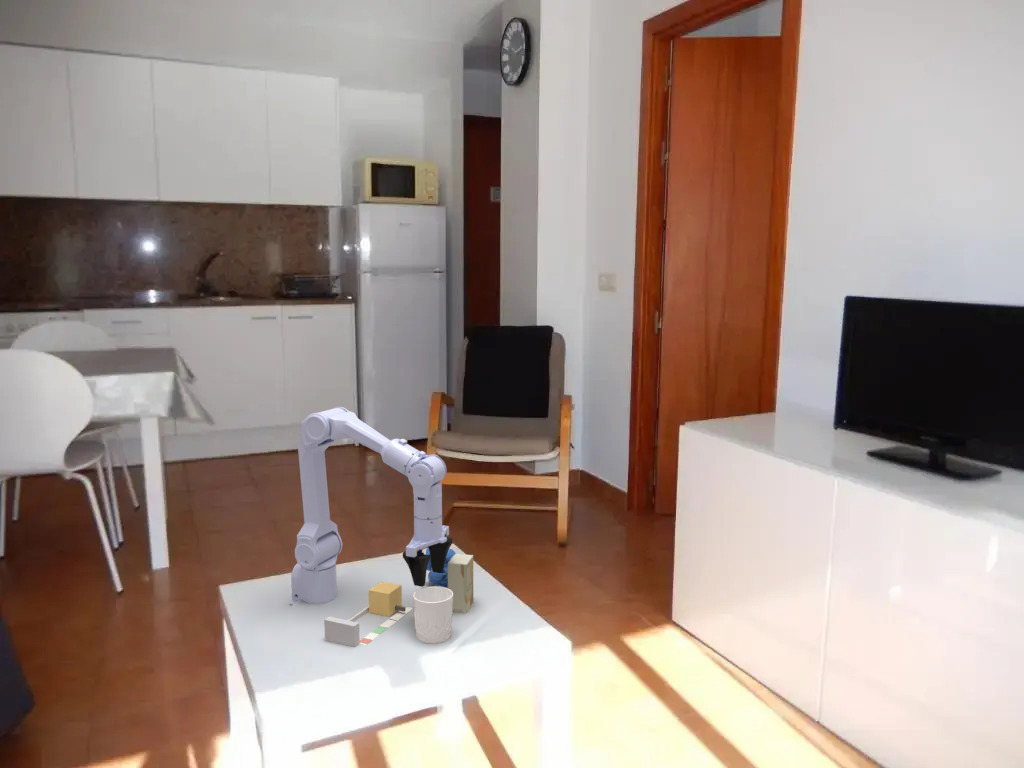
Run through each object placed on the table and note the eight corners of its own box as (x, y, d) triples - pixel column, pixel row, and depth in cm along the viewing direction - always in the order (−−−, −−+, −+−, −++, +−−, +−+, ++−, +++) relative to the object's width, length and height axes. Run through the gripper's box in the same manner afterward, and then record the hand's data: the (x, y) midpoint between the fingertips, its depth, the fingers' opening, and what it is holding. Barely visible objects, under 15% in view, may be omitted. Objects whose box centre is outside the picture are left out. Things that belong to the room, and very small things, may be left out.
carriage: (369, 612, 162) (368, 590, 161) (382, 603, 166) (381, 581, 166) (398, 618, 159) (398, 595, 158) (410, 609, 164) (410, 586, 163)
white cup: (414, 633, 156) (413, 586, 154) (453, 631, 156) (452, 585, 155) (412, 652, 148) (412, 603, 146) (453, 650, 149) (453, 601, 147)
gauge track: (314, 646, 150) (314, 619, 149) (376, 602, 170) (376, 578, 169) (362, 657, 146) (361, 629, 145) (419, 611, 166) (419, 586, 165)
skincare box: (466, 620, 162) (466, 564, 160) (447, 618, 163) (446, 563, 161) (474, 607, 168) (474, 554, 166) (455, 605, 169) (454, 552, 167)
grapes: (412, 595, 174) (411, 544, 173) (431, 585, 180) (430, 536, 178) (452, 607, 168) (452, 555, 166) (471, 596, 173) (470, 546, 172)
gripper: (427, 528, 148) (428, 595, 150) (461, 508, 161) (461, 569, 163) (396, 523, 151) (397, 589, 153) (432, 504, 164) (432, 564, 166)
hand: (428, 578), depth 158 cm, fingers open, 7 cm apart
